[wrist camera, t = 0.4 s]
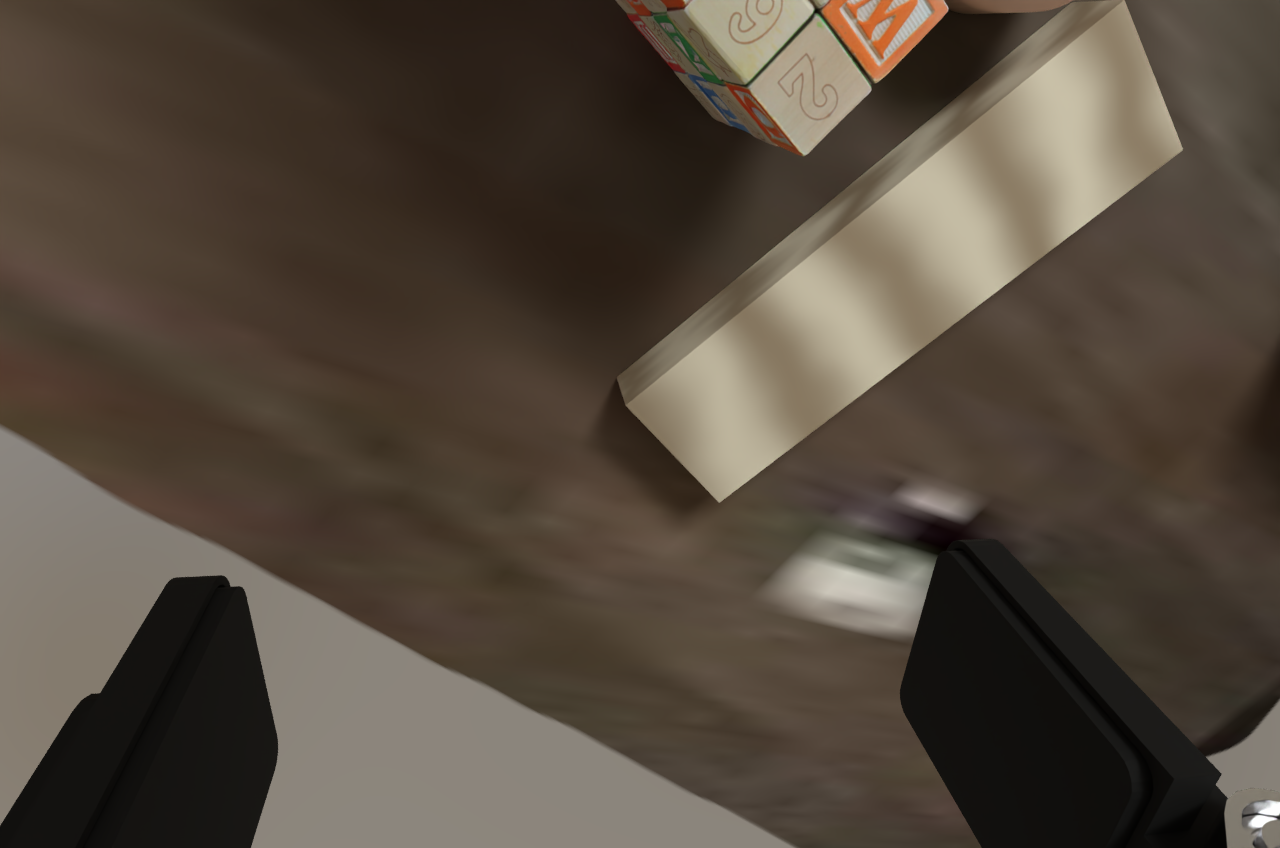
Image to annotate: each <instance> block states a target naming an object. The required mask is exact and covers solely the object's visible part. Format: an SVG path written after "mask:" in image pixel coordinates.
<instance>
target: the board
mask: <svg viewBox="0 0 1280 848" xmlns="http://www.w3.org/2000/svg"><path fill="white" fill-rule="evenodd" d="M1182 150H1183V148H1182V146H1181V143H1180V141H1179V138H1178V135H1177V133H1176V130H1175V128H1174V125H1173V123H1172V120H1171V118H1170V115H1169V112H1168V110H1167V107H1166V105H1165V102H1164V100H1163V97H1162V95H1161V92H1160V90H1159V87H1158V84H1157V82H1156V79H1155V77H1154V74H1153V72H1152V69H1151V67H1150V64H1149V61H1148V59H1147V56H1146V54H1145V51H1144V49H1143V46H1142V44H1141V41H1140V38H1139V36H1138V33H1137V31H1136V28H1135V26H1134V23H1133V21H1132V18H1131V16H1130V13H1129V10H1128V8H1127V5H1126V3H1125V0H1111V1H1089V2H1071V3H1070V4H1069V5H1068V6H1067V7H1065V8H1064V9H1063V10H1062V11H1061V12H1059V13H1058V14H1057V15H1056V16H1054V17H1053V18H1052V19H1051V20H1050V21H1048V22H1047V23H1046V24H1045V25H1044V26H1042V27H1041V28H1040V29H1039V30H1037V31H1036V32H1035V33H1034V34H1033V35H1031V36H1030V37H1029V38H1028V39H1027V40H1025V41H1024V42H1023V43H1022V44H1020V45H1019V46H1018V47H1017V48H1016V49H1014V50H1013V51H1012V52H1011V53H1010V54H1008V55H1007V56H1006V57H1005V58H1003V59H1002V60H1001V61H1000V62H999V63H997V64H996V65H995V66H994V67H993V68H991V69H990V70H989V71H988V72H986V73H985V74H984V75H983V76H982V77H980V78H979V79H978V80H977V81H976V82H974V83H973V84H972V85H971V86H970V87H968V88H967V89H966V90H965V91H963V92H962V93H961V94H960V95H959V96H957V97H956V98H955V99H954V100H953V101H951V102H950V103H949V104H948V105H946V106H945V107H944V108H943V109H942V110H940V111H939V112H938V113H937V114H936V115H934V116H933V117H932V118H931V119H929V120H928V121H927V122H926V123H925V124H923V125H922V126H921V127H920V128H919V129H917V130H916V131H915V132H914V133H912V134H911V135H910V136H909V137H908V138H906V139H905V140H904V141H903V142H902V143H900V144H899V145H898V146H897V147H895V148H894V149H893V150H892V151H891V152H889V153H888V154H887V155H886V156H885V157H883V158H882V159H881V160H880V161H879V162H877V163H876V164H875V165H874V166H872V167H871V168H870V169H869V170H868V171H866V172H865V173H864V174H863V175H862V176H860V177H859V178H858V179H857V180H855V181H854V182H853V183H852V184H851V185H849V186H848V187H847V188H846V189H845V190H843V191H842V192H841V193H840V194H838V195H837V196H836V197H835V198H834V199H832V200H831V201H830V202H829V203H828V204H826V205H825V206H824V207H823V208H821V209H820V210H819V211H818V212H817V213H815V214H814V215H813V216H812V217H811V218H809V219H808V220H807V221H806V222H804V223H803V224H802V225H801V226H800V227H798V228H797V229H796V230H795V231H794V232H792V233H791V234H790V235H789V236H788V237H786V238H785V239H784V240H783V241H781V242H780V243H779V244H778V245H777V246H775V247H774V248H773V249H772V250H771V251H769V252H768V253H767V254H766V255H764V256H763V257H762V258H761V259H760V260H758V261H757V262H756V263H755V264H754V265H752V266H751V267H750V268H749V269H747V270H746V271H745V272H744V273H743V274H741V275H740V276H739V277H738V278H737V279H735V280H734V281H733V282H732V283H730V284H729V285H728V286H727V287H726V288H724V289H723V290H722V291H721V292H720V293H718V294H717V295H716V296H715V297H714V298H712V299H711V300H710V301H709V302H707V303H706V304H705V305H704V306H703V307H701V308H700V309H699V310H698V311H697V312H695V313H694V314H693V315H692V316H690V317H689V318H688V319H687V320H686V321H684V322H683V323H682V324H681V325H680V326H678V327H677V328H676V329H675V330H673V331H672V332H671V333H670V334H669V335H667V336H666V337H665V338H664V339H663V340H661V341H660V342H659V343H658V344H656V345H655V346H654V347H653V348H652V349H650V350H649V351H648V352H647V353H646V354H644V355H643V356H642V357H641V358H639V359H638V360H637V361H636V362H635V363H633V364H632V365H631V366H630V367H629V368H627V369H626V370H625V371H624V372H623V373H621V374H620V375H619V376H618V377H617V380H618V383H619V386H620V390H621V393H622V396H623V399H624V402H625V405H626V406H627V407H628V409H629V410H630V411H631V412H632V413H633V414H634V415H635V416H636V417H637V418H638V419H639V420H640V421H641V422H642V423H643V424H644V425H645V426H646V427H647V428H648V429H649V430H650V431H651V432H652V433H653V434H654V436H655V437H656V438H657V439H658V440H659V441H660V442H661V443H662V444H663V445H664V446H665V447H666V448H667V449H668V450H669V451H670V452H671V453H672V454H673V455H674V456H675V457H676V458H677V459H678V460H679V461H680V463H681V464H682V465H683V466H684V467H685V468H686V469H687V470H688V471H689V472H690V473H691V474H692V475H693V476H694V477H695V478H696V479H697V480H698V481H699V482H700V483H701V484H702V485H703V486H704V487H705V489H706V490H707V491H708V492H709V493H710V494H711V495H712V496H713V497H714V498H715V499H716V500H717V501H718V502H719V503H720V502H721V501H722V500H724V499H725V498H726V497H728V496H729V495H730V494H731V493H733V492H734V491H735V490H737V489H738V488H739V487H741V486H742V485H743V484H745V483H746V482H747V481H749V480H750V479H751V478H752V477H754V476H755V475H756V474H758V473H759V472H760V471H762V470H763V469H764V468H766V467H767V466H768V465H770V464H771V463H772V462H773V461H775V460H776V459H777V458H779V457H780V456H781V455H783V454H784V453H785V452H787V451H788V450H789V449H791V448H792V447H793V446H795V445H796V444H797V443H798V442H800V441H801V440H802V439H804V438H805V437H806V436H808V435H809V434H810V433H812V432H813V431H814V430H816V429H817V428H818V427H819V426H821V425H822V424H823V423H825V422H826V421H827V420H829V419H830V418H831V417H833V416H834V415H835V414H837V413H838V412H839V411H840V410H842V409H843V408H844V407H846V406H847V405H848V404H850V403H851V402H852V401H854V400H855V399H856V398H858V397H859V396H860V395H862V394H863V393H864V392H865V391H867V390H868V389H869V388H871V387H872V386H873V385H875V384H876V383H877V382H879V381H880V380H881V379H883V378H884V377H885V376H886V375H888V374H889V373H890V372H892V371H893V370H894V369H896V368H897V367H898V366H900V365H901V364H902V363H904V362H905V361H906V360H908V359H909V358H910V357H911V356H913V355H914V354H915V353H917V352H918V351H919V350H921V349H922V348H923V347H925V346H926V345H927V344H929V343H930V342H931V341H932V340H934V339H935V338H936V337H938V336H939V335H940V334H942V333H943V332H944V331H946V330H947V329H948V328H950V327H951V326H952V325H953V324H955V323H956V322H957V321H959V320H960V319H961V318H963V317H964V316H965V315H967V314H968V313H969V312H971V311H972V310H973V309H975V308H976V307H977V306H978V305H980V304H981V303H982V302H984V301H985V300H986V299H988V298H989V297H990V296H992V295H993V294H994V293H996V292H997V291H998V290H999V289H1001V288H1002V287H1003V286H1005V285H1006V284H1007V283H1009V282H1010V281H1011V280H1013V279H1014V278H1015V277H1017V276H1018V275H1019V274H1020V273H1022V272H1023V271H1024V270H1026V269H1027V268H1028V267H1030V266H1031V265H1032V264H1034V263H1035V262H1036V261H1038V260H1039V259H1040V258H1042V257H1043V256H1044V255H1045V254H1047V253H1048V252H1049V251H1051V250H1052V249H1053V248H1055V247H1056V246H1057V245H1059V244H1060V243H1061V242H1063V241H1064V240H1065V239H1066V238H1068V237H1069V236H1070V235H1072V234H1073V233H1074V232H1076V231H1077V230H1078V229H1080V228H1081V227H1082V226H1084V225H1085V224H1086V223H1088V222H1089V221H1090V220H1091V219H1093V218H1094V217H1095V216H1097V215H1098V214H1099V213H1101V212H1102V211H1103V210H1105V209H1106V208H1107V207H1109V206H1110V205H1111V204H1112V203H1114V202H1115V201H1116V200H1118V199H1119V198H1120V197H1122V196H1123V195H1124V194H1126V193H1127V192H1128V191H1130V190H1131V189H1132V188H1133V187H1135V186H1136V185H1137V184H1139V183H1140V182H1141V181H1143V180H1144V179H1145V178H1147V177H1148V176H1149V175H1151V174H1152V173H1153V172H1155V171H1156V170H1157V169H1158V168H1160V167H1161V166H1162V165H1164V164H1165V163H1166V162H1168V161H1169V160H1170V159H1172V158H1173V157H1174V156H1176V155H1177V154H1178V153H1179V152H1181V151H1182Z"/></svg>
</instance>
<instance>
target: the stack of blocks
mask: <svg viewBox="0 0 1280 848" xmlns="http://www.w3.org/2000/svg"><path fill="white" fill-rule="evenodd" d="M615 1H616V2H617V3H618V4H619V5H620V6H621V8H622V9H623V10H624V11H625V12H626V13H627V16H628V18H629V19H630V20H631V21H632V23H633V24H634V25H635V26H636V28H637V29H638V30H639V31H640V32H641V33H642V35H643V36H644V37H645V38H646V39H647V40H648V41H649V43H650V44H651V45H652V46H653V47H654V49H655V50H656V51H657V52H658V53H659V54H660V56H661V57H662V58H663V59H664V60H665V61H666V63H667V64H668V65H669V66H670V67H671V69H672V70H673V71H674V72H675V74H676V75H677V76H678V78H679V79H680V80H681V81H682V82H683V83H684V85H685V86H686V87H687V88H688V89H689V91H690V92H691V93H692V94H693V95H694V96H695V98H696V99H697V100H698V101H699V102H700V103H701V105H702V106H703V107H704V108H705V109H706V110H707V112H708V113H709V114H710V115H711V116H712V117H713V118H714V119H715V120H717V121H719V122H723V123H725V124H726V125H729V126H734V127H736V128H738V129H741V130H744V131H746V132H748V133H749V134H752V135H753V136H754V137H756V138H758V139H760V140H762V141H764V142H766V143H768V144H771V145H774V146H777V147H778V146H780V147H782V148H784V149H786V150H789V151H791V152H793V153H795V154H797V155H800V156H805V155H807V154H808V153H809V152H810V151H811V150H812V149H813V148H814V147H815V146H816V145H817V144H818V143H819V142H820V141H821V140H822V139H823V138H824V137H825V136H826V135H827V134H828V133H829V132H830V131H831V130H832V129H833V128H834V127H835V126H836V125H837V124H838V123H839V122H840V121H841V120H842V119H843V118H844V117H845V116H846V115H847V114H848V113H849V112H850V111H851V110H852V109H854V108H855V107H856V106H857V105H858V104H859V103H860V102H861V101H862V100H863V99H864V98H865V97H866V96H867V95H868V94H869V93H870V92H871V84H874V83H877V82H879V81H880V80H881V79H883V78H884V77H885V76H886V75H887V74H888V73H889V72H890V71H891V70H892V69H893V68H894V67H895V66H896V65H897V64H898V63H899V62H900V61H901V60H902V59H903V58H904V57H905V56H906V55H907V54H908V53H909V52H910V51H911V50H912V49H913V48H914V47H915V46H916V45H917V44H918V43H919V42H920V41H921V40H922V39H923V37H924V36H925V35H926V34H927V33H928V32H929V31H930V30H931V29H932V28H933V27H934V26H935V25H936V24H937V23H938V22H939V21H940V20H941V19H942V18H943V17H944V15H945V14H946V13H947V12H948V9H949V8H948V6H947V5H946V3H945V1H944V0H615Z"/></svg>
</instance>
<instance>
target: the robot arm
mask: <svg viewBox="0 0 1280 848" xmlns="http://www.w3.org/2000/svg"><path fill="white" fill-rule="evenodd" d="M900 700H901V705H902V708H903V711H904V713H905V715H906V717H907V719H908V721H909V722H910V724H911V726H912V728H913V729H914V731H915V733H916V735H917V736H918V738H919V740H920V741H921V743H922V745H923V747H924V748H925V750H926V752H927V754H928V755H929V757H930V759H931V761H932V762H933V764H934V766H935V767H936V769H937V771H938V773H939V774H940V776H941V778H942V780H943V781H944V783H945V785H946V786H947V788H948V790H949V792H950V793H951V795H952V797H953V799H954V800H955V802H956V804H957V805H958V807H959V809H960V811H961V812H962V814H963V816H964V818H965V819H966V821H967V823H968V824H969V826H970V828H971V830H972V831H973V833H974V835H975V837H976V838H977V840H978V842H979V843H980V845H981V847H982V848H1280V792H1277V791H1274V790H1266V789H1256V788H1250V789H1245V790H1240V791H1236V792H1235V793H1234V794H1233V795H1232V796H1231V797H1229V798H1227V797H1226V796H1225V795H1224V794H1223V793H1222V792H1221V791H1220V789H1219V788H1218V787H1217V786H1216V783H1217V781H1218V780H1219V778H1220V776H1221V773H1220V772H1219V771H1218V770H1217V769H1216V768H1215V767H1214V765H1213V764H1211V763H1210V762H1209V760H1208V759H1207V758H1206V757H1205V756H1204V755H1203V754H1202V753H1201V752H1200V751H1199V750H1198V749H1197V748H1196V747H1195V746H1194V745H1193V744H1192V742H1191V741H1190V740H1189V739H1188V738H1187V737H1186V736H1185V735H1184V734H1183V733H1182V732H1181V731H1180V730H1179V729H1178V728H1177V727H1176V726H1175V725H1174V724H1173V723H1172V722H1171V720H1170V719H1169V718H1168V717H1167V716H1166V715H1165V714H1164V713H1163V712H1162V711H1161V710H1160V709H1159V708H1158V707H1157V706H1156V705H1155V704H1154V703H1153V702H1152V701H1151V700H1150V699H1149V697H1148V696H1147V695H1146V694H1145V693H1144V692H1143V691H1142V690H1141V689H1140V688H1139V687H1138V686H1137V685H1136V684H1135V683H1134V682H1133V681H1132V680H1131V679H1130V678H1129V677H1128V675H1127V674H1126V673H1125V672H1124V671H1123V670H1122V669H1121V668H1120V667H1119V666H1118V665H1117V664H1116V663H1115V662H1114V661H1113V660H1112V659H1111V658H1110V657H1109V656H1108V655H1107V653H1106V652H1105V651H1104V650H1103V649H1102V648H1101V647H1100V646H1099V645H1098V644H1097V643H1096V642H1095V641H1094V640H1093V639H1092V638H1091V637H1090V636H1089V635H1088V634H1087V633H1086V632H1085V630H1084V629H1083V628H1082V627H1081V626H1080V625H1079V624H1078V623H1077V622H1076V621H1075V620H1074V619H1073V618H1072V617H1071V616H1070V615H1069V614H1068V613H1067V612H1066V611H1065V610H1064V608H1063V607H1062V606H1061V605H1060V604H1059V603H1058V602H1057V601H1056V600H1055V599H1054V598H1053V597H1052V596H1051V595H1050V594H1049V593H1048V592H1047V591H1046V590H1045V589H1044V588H1043V587H1042V585H1041V584H1040V583H1039V582H1038V581H1037V580H1036V579H1035V578H1034V577H1033V576H1032V575H1031V574H1030V573H1029V572H1028V571H1027V570H1026V569H1025V568H1024V567H1023V566H1022V565H1021V563H1020V562H1019V561H1018V560H1017V559H1016V558H1015V557H1014V556H1013V555H1012V554H1011V553H1010V552H1009V551H1008V550H1007V549H1006V548H1005V547H1004V546H1003V545H1002V544H1001V543H1000V542H998V541H997V540H994V539H977V540H957V541H954V542H952V543H951V544H950V545H949V546H948V549H947V551H944V552H941V553H940V554H939V555H938V558H937V560H936V564H935V567H934V571H933V574H932V578H931V581H930V585H929V588H928V592H927V595H926V599H925V603H924V606H923V610H922V613H921V617H920V620H919V624H918V627H917V631H916V634H915V638H914V641H913V645H912V649H911V652H910V656H909V659H908V663H907V666H906V670H905V673H904V677H903V680H902V684H901V689H900ZM277 755H278V739H277V733H276V729H275V725H274V720H273V715H272V711H271V706H270V702H269V698H268V692H267V688H266V684H265V679H264V675H263V670H262V665H261V661H260V656H259V652H258V647H257V643H256V638H255V633H254V629H253V624H252V620H251V615H250V611H249V606H248V602H247V597H246V594H245V591H244V589H243V588H242V587H239V586H238V587H230V583H229V581H228V580H227V578H226V577H225V576H202V577H201V576H200V577H179V578H173V579H171V580H170V581H169V582H168V583H167V584H166V586H165V587H164V589H163V591H162V593H161V594H160V596H159V597H158V599H157V601H156V602H155V604H154V606H153V607H152V609H151V610H150V612H149V614H148V615H147V617H146V619H145V621H144V622H143V624H142V625H141V627H140V629H139V630H138V632H137V634H136V635H135V637H134V638H133V640H132V642H131V644H130V645H129V647H128V648H127V650H126V652H125V653H124V655H123V657H122V658H121V660H120V662H119V663H118V665H117V667H116V668H115V670H114V671H113V673H112V675H111V676H110V678H109V680H108V681H107V683H106V685H105V686H104V688H103V689H102V691H101V693H99V694H91V695H89V696H87V697H86V698H84V699H83V700H81V702H80V703H79V704H78V705H77V706H76V708H75V709H74V710H73V711H72V713H71V715H70V716H69V718H68V720H67V721H66V723H65V724H64V726H63V727H62V729H61V730H60V732H59V734H58V735H57V737H56V738H55V740H54V741H53V743H52V745H51V746H50V748H49V749H48V751H47V753H46V754H45V756H44V757H43V759H42V761H41V762H40V764H39V765H38V767H37V768H36V770H35V772H34V773H33V775H32V776H31V778H30V779H29V781H28V783H27V784H26V786H25V787H24V789H23V791H22V792H21V794H20V795H19V797H18V798H17V800H16V802H15V803H14V805H13V806H12V808H11V810H10V811H9V813H8V814H7V816H6V817H5V819H4V821H3V822H2V824H1V825H0V848H251V845H252V842H253V839H254V835H255V832H256V829H257V826H258V823H259V819H260V816H261V813H262V809H263V806H264V803H265V800H266V797H267V793H268V790H269V787H270V784H271V781H272V777H273V774H274V771H275V767H276V763H277Z"/></svg>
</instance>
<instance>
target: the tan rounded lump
mask: <svg viewBox="0 0 1280 848" xmlns="http://www.w3.org/2000/svg"><path fill="white" fill-rule="evenodd" d="M944 1H945V3H946V5H947V6H948V8H949V9H948V10H950V11H953V12H957V13H962V14H990V13H1023V12H1041V11H1048V10H1051V9H1055V8H1058V7H1061V6H1063V5H1065V4H1068V3H1069V2H1071V1H1073V0H944Z"/></svg>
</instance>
